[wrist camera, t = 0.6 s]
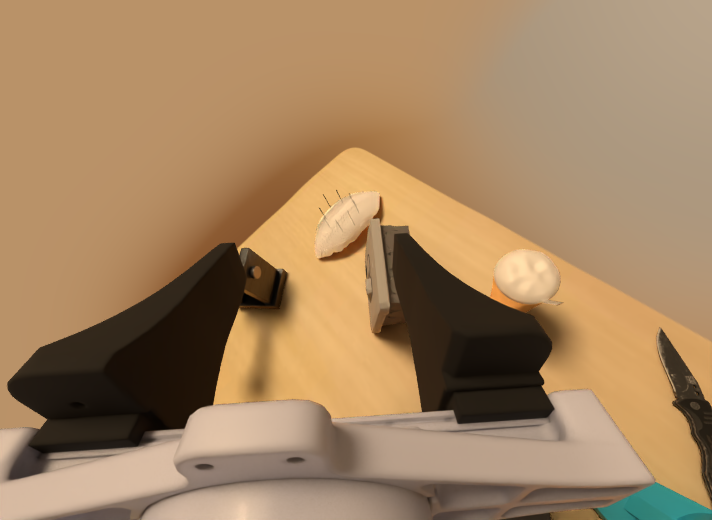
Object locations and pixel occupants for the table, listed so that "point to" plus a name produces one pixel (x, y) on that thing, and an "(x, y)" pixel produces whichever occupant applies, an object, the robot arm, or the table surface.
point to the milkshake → (525, 280)
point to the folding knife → (689, 402)
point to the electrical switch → (382, 275)
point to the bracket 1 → (261, 282)
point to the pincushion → (345, 222)
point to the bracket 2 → (655, 506)
